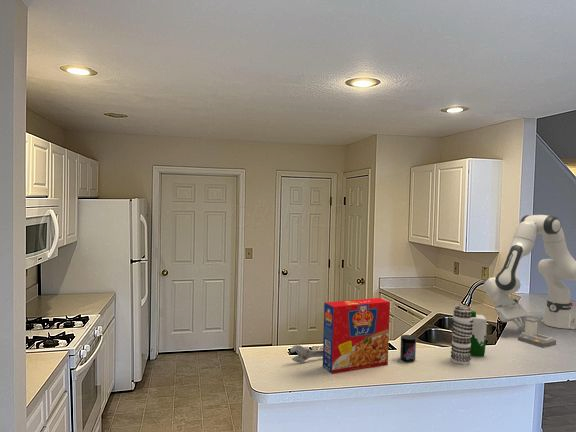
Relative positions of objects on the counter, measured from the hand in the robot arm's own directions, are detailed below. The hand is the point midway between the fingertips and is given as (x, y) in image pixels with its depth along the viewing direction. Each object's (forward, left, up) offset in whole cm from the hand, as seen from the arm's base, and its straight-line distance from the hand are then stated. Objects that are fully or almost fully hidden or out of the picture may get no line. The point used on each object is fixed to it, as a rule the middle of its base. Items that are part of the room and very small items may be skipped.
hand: (521, 326), depth 232 cm
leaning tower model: (+59, +7, -6) cm, 60 cm away
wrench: (+116, -23, -6) cm, 118 cm away
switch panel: (0, +8, -6) cm, 10 cm away
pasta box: (+106, -10, -6) cm, 107 cm away
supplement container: (+80, -5, -6) cm, 80 cm away
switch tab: (0, +5, -4) cm, 6 cm away
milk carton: (+45, +4, -6) cm, 46 cm away
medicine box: (-15, -6, -6) cm, 17 cm away
